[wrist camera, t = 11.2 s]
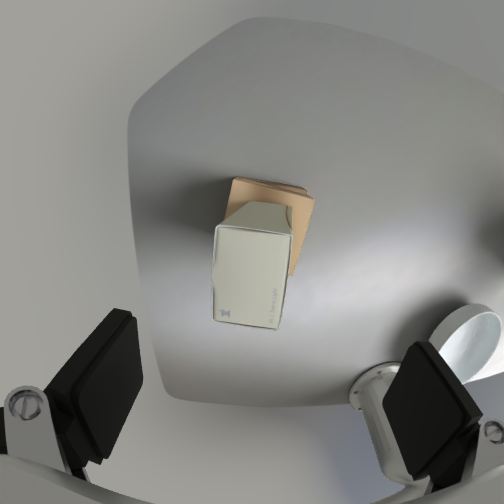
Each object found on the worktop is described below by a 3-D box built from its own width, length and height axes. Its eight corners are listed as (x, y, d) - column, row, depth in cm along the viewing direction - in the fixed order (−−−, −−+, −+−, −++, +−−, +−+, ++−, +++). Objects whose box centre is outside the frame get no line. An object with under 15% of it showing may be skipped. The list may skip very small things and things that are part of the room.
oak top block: (308, 195, 30) (315, 200, 26) (289, 262, 33) (292, 275, 29) (236, 177, 30) (233, 179, 26) (221, 246, 32) (215, 257, 28)
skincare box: (284, 266, 28) (280, 335, 17) (240, 260, 29) (209, 324, 17) (293, 203, 26) (297, 234, 15) (246, 197, 27) (213, 224, 15)
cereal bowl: (397, 367, 42) (411, 393, 36) (440, 284, 37) (464, 304, 31) (454, 370, 43) (469, 390, 37) (493, 300, 38) (514, 317, 31)
